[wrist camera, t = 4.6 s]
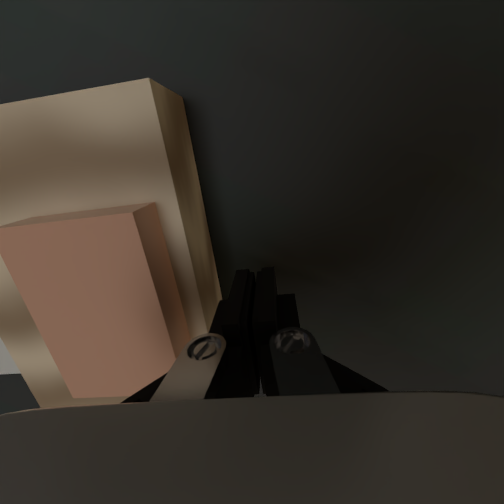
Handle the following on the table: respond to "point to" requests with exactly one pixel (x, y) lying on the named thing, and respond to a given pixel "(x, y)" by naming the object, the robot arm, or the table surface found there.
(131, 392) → the tile
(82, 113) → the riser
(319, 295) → the table surface
